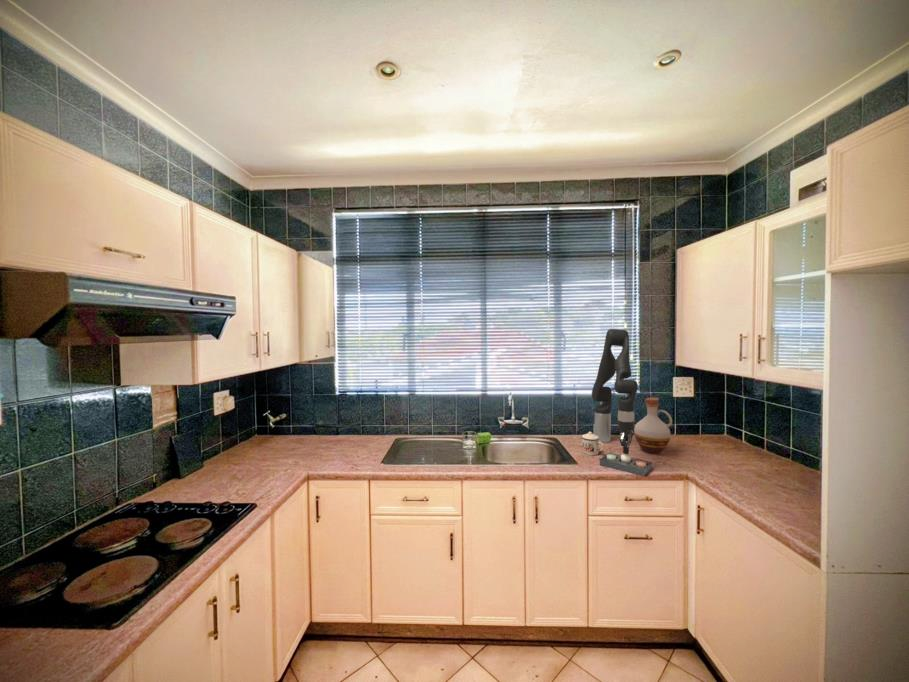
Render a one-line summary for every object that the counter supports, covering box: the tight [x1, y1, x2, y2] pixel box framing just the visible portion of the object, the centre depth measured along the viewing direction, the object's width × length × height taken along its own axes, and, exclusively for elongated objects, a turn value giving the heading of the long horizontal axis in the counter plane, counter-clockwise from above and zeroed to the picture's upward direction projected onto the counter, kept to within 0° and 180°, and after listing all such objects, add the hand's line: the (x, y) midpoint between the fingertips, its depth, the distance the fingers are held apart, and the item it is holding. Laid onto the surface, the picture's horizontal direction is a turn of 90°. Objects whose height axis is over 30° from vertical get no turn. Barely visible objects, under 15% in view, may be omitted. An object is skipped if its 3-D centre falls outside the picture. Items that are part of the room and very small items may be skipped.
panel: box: [599, 452, 654, 477], centre depth 179 cm, size 21×13×3 cm, turn 46°
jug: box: [633, 397, 673, 455], centre depth 200 cm, size 20×18×30 cm
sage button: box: [606, 453, 616, 460], centre depth 184 cm, size 4×4×4 cm
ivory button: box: [620, 453, 632, 464], centre depth 179 cm, size 4×4×4 cm
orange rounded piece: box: [636, 461, 646, 467], centre depth 174 cm, size 4×4×4 cm
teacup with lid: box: [581, 431, 605, 456], centre depth 199 cm, size 12×9×12 cm
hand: (626, 453), depth 179 cm, fingers closed
